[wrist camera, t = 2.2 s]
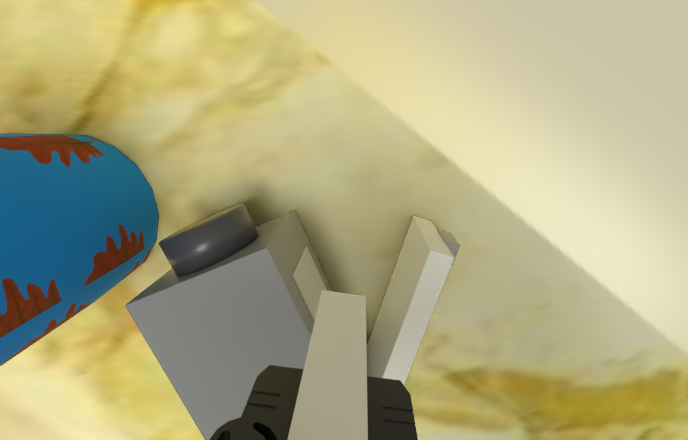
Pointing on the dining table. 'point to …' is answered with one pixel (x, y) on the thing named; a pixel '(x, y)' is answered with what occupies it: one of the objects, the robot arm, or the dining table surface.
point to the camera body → (230, 309)
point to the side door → (410, 299)
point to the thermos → (65, 230)
